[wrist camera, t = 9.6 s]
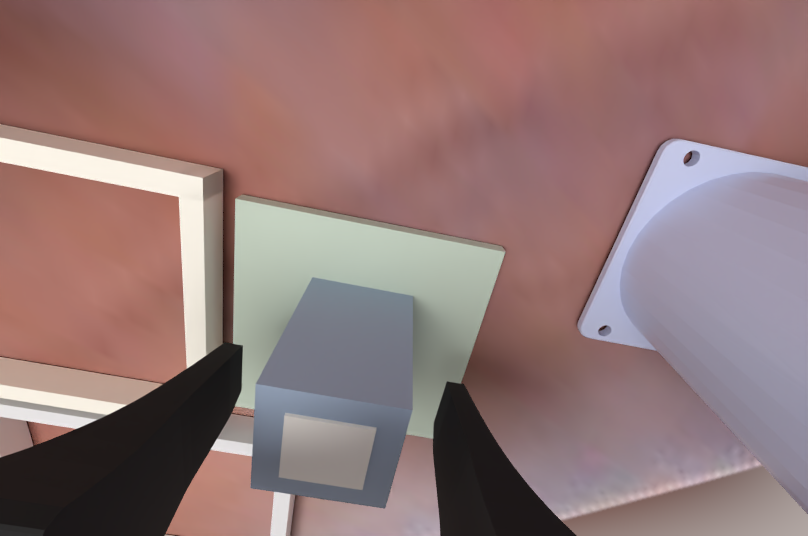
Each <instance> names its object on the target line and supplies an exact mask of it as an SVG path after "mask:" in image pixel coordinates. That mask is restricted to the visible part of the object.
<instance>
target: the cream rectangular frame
mask: <svg viewBox="0 0 808 536" xmlns="http://www.w3.org/2000/svg"><path fill="white" fill-rule="evenodd" d="M0 162H5V163H10V164H15V165H20V166H25V167H30V168H35V169H40V170H45V171H50V172H56V173H61V174H66V175H71V176H76V177H81V178H86V179H91V180H96V181H101V182H106V183H112V184H117V185H122V186H127V187H132V188H137V189H142V190H147V191H152V192H157V193H162V194H168V195H173V196H178V197H179V210H180V231H181V253H182V274H183V296H184V317H185V339H186V360H187V368H189V367H190V366H192V365H193V364H194V363H196V362H197V361H199V360H200V359H202V358H203V357H205V356H206V355H207V354H209V353H210V352H212V351H213V350H214V349H216V348H217V347H219V346H220V345H222V344H223V169H220V168H215V167H210V166H205V165H200V164H195V163H190V162H185V161H180V160H175V159H170V158H166V157H161V156H156V155H151V154H146V153H141V152H136V151H131V150H126V149H121V148H116V147H111V146H106V145H101V144H96V143H91V142H86V141H81V140H77V139H72V138H67V137H62V136H57V135H52V134H47V133H42V132H37V131H32V130H27V129H22V128H17V127H12V126H7V125H2V124H0ZM161 385H163V384H160V383H154V382H148V381H142V380H136V379H130V378H124V377H118V376H112V375H106V374H100V373H94V372H88V371H82V370H76V369H70V368H64V367H58V366H52V365H46V364H40V363H34V362H28V361H22V360H16V359H10V358H4V357H0V398H4V399H11V400H17V401H23V402H29V403H36V404H42V405H48V406H54V407H61V408H67V409H73V410H80V411H86V412H92V413H98V414H105V415H109V414H111V413H113V412H115V411H116V410H118V409H120V408H122V407H124V406H126V405H128V404H130V403H132V402H134V401H136V400H137V399H139V398H141V397H143V396H144V395H146V394H148V393H149V392H151V391H153V390H154V389H156V388H158V387H159V386H161Z"/></svg>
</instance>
